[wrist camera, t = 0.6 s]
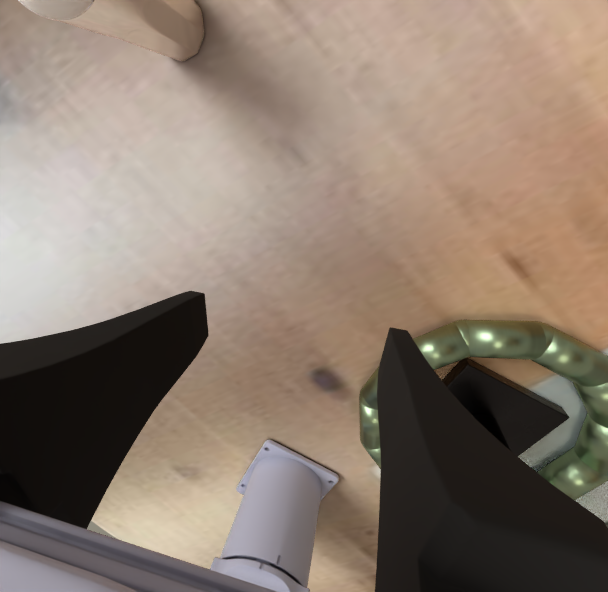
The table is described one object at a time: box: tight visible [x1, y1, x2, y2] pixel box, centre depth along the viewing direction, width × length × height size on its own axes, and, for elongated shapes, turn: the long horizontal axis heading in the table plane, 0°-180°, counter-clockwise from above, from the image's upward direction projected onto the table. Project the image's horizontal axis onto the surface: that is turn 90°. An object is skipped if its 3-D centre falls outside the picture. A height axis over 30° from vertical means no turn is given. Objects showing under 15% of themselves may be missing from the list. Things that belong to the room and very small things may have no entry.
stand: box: [442, 358, 569, 456], centre depth 21 cm, size 8×8×5 cm
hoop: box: [359, 320, 608, 500], centre depth 22 cm, size 18×18×2 cm
